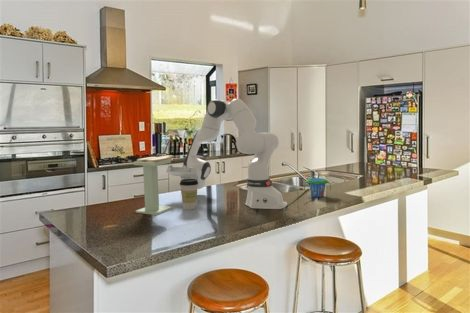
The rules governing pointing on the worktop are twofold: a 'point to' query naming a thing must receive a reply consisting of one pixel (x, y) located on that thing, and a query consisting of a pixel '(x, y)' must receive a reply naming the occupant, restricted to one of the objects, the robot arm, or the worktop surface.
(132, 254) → the worktop surface
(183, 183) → the coffee cup
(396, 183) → the worktop surface
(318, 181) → the snack cup
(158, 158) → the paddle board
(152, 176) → the tall stand
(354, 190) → the worktop surface
